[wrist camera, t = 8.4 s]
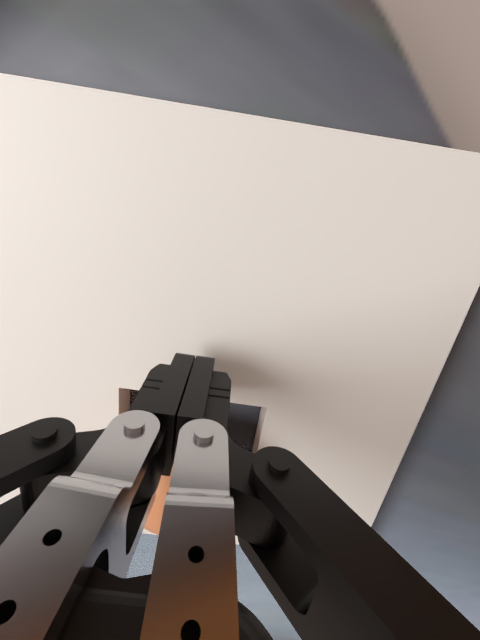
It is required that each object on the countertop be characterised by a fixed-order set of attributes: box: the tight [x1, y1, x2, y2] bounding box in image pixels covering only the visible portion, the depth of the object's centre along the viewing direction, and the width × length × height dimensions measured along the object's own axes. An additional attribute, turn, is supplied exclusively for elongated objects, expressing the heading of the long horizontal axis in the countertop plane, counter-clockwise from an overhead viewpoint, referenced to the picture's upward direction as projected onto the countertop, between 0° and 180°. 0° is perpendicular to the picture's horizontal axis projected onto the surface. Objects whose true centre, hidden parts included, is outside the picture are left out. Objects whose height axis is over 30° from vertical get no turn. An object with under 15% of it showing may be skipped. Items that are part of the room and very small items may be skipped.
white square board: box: [0, 73, 480, 545], centre depth 14 cm, size 20×20×2 cm
